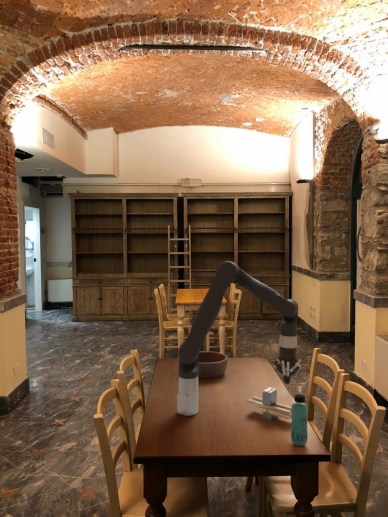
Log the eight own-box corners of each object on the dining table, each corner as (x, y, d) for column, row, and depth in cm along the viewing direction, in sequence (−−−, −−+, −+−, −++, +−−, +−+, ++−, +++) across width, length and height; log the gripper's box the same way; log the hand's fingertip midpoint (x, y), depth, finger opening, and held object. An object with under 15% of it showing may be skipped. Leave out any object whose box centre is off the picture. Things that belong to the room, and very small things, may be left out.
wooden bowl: (179, 377, 244) (179, 360, 243) (195, 365, 267) (195, 349, 266) (219, 383, 234) (219, 365, 233) (233, 370, 257) (233, 353, 256)
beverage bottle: (287, 444, 166) (287, 395, 165) (296, 439, 170) (297, 391, 169) (301, 450, 161) (302, 400, 160) (310, 444, 166) (311, 395, 165)
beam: (288, 426, 181) (288, 412, 181) (246, 413, 195) (246, 400, 194) (295, 421, 187) (295, 407, 186) (254, 408, 200) (254, 395, 200)
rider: (270, 410, 187) (270, 392, 187) (262, 407, 190) (262, 390, 189) (276, 405, 192) (276, 388, 191) (268, 403, 194) (269, 386, 194)
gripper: (270, 344, 185) (269, 382, 186) (298, 349, 176) (297, 389, 177) (278, 340, 190) (277, 378, 191) (305, 346, 182) (304, 385, 183)
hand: (287, 383), depth 184 cm, fingers closed
